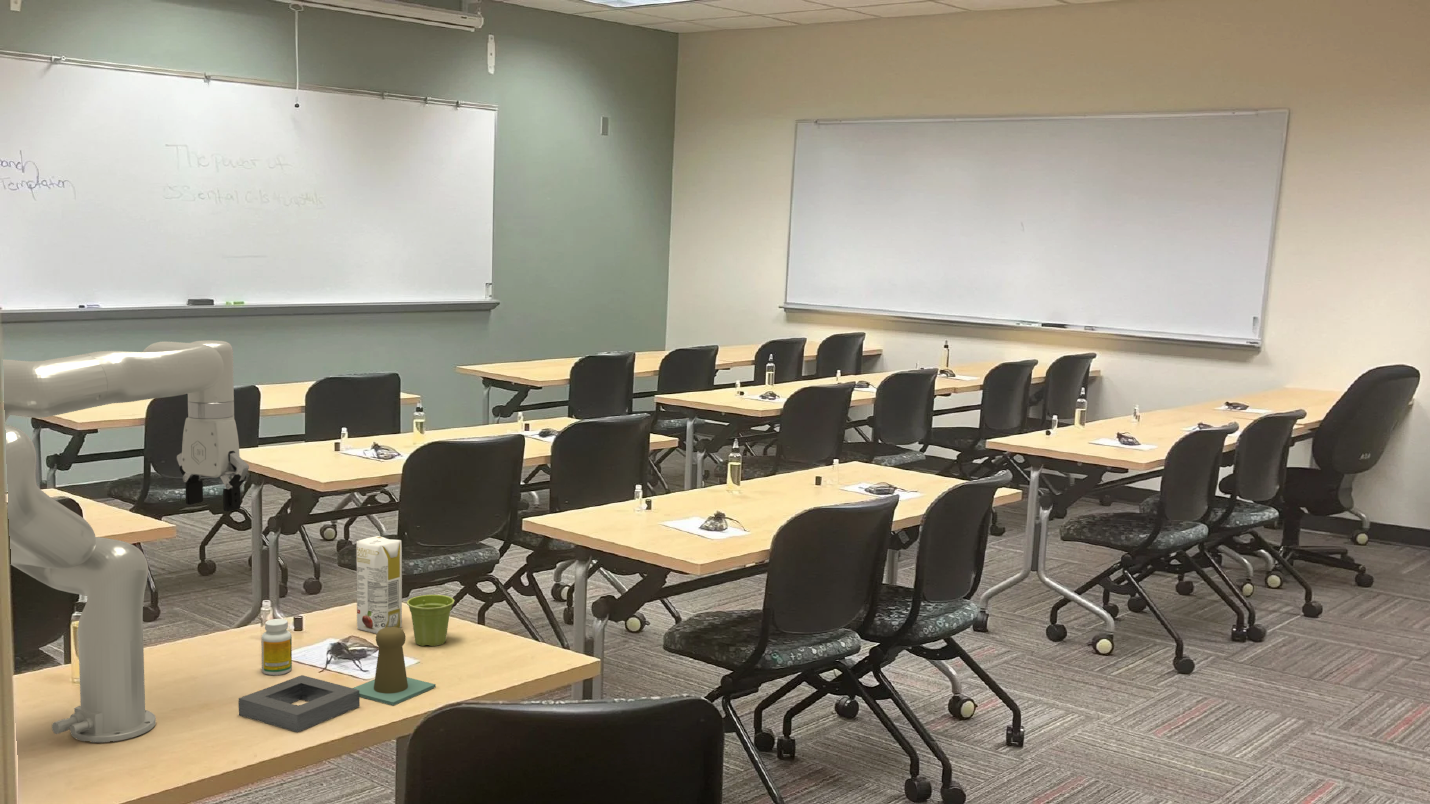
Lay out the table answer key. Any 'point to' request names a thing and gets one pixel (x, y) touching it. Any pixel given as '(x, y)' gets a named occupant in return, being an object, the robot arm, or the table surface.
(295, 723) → the socket block
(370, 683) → the rubber mat
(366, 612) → the juice carton
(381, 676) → the cork
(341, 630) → the table surface
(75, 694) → the table surface
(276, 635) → the supplement bottle
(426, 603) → the plant pot
